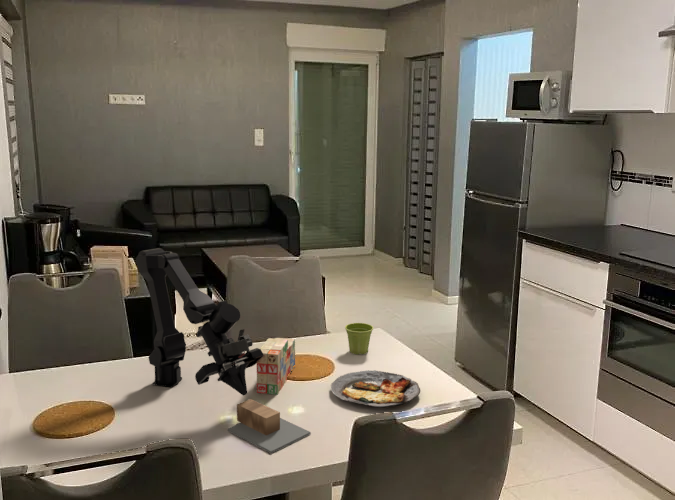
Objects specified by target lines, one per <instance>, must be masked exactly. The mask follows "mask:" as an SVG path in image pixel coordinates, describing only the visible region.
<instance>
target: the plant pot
mask: <svg viewBox="0 0 675 500" xmlns="http://www.w3.org/2000/svg"><path fill="white" fill-rule="evenodd" d="M344 329H345V331H346V332H345V333H346V334H347V341H348V347H349V349H348V350H349V352H350V354H353V355H357V356H358V355H365V354H367V353H368V352H369V346H370V340H371V336H372V335H371V334H372V333H373V330H374V325H372V324H369V323H363V322H353V323H348V324H346V325H345V327H344Z"/></svg>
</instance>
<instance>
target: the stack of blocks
mask: <svg viewBox="0 0 675 500" xmlns="http://www.w3.org/2000/svg"><path fill="white" fill-rule="evenodd" d="M295 343H296V339H295V338H285V337H275V338H271V337H269V338H267V339H266V341H265V342H264V343H263V345H262V346H261V347H260V348H259V349H261V351H262V352H263V354H264V356H263V357H262V358H261V359H260V360H259V361H258V362H257V363H256V393H257V394H267V395H268V394H269V395H276V396H277V395H279V393H280V391H282V389H283V387H284V386H285V384H286V383H287V380H288V379H287V376H288V374H289V373H290V372H291V370H292V369H293V366H294V365H295V366H296V348H295V347H296V346H295V345H296V344H295ZM293 370H294V369H293ZM291 373H292V372H291Z"/></svg>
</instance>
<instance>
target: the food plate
mask: <svg viewBox="0 0 675 500" xmlns="http://www.w3.org/2000/svg"><path fill="white" fill-rule="evenodd" d="M351 387H352V388H351ZM330 391H331V392H332V394H333V395H334V396H336V397H337V398H339V399H340V400H341V401H347V402H351V403H356V404H358V405H365V406H371V407H378V408H390V407H394V406H395V407H396V406H400V405H404V404H406V403H407V404H408V403H410V402H412V401H413V400H414V399H415V398H416V397H418V396H419V395H420V394H421V387H420V386H419V383H418V382H417V381H415V380H412V378H410V377H407V376H404V375H403V374H398V373H394V372H386V371H381V370H361V371H355V372H348V373H345V374H343V375H339V376H338V377H337V378H336V379H335V380H334V381H332V382H331V384H330Z"/></svg>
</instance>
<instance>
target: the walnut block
mask: <svg viewBox="0 0 675 500" xmlns="http://www.w3.org/2000/svg"><path fill="white" fill-rule="evenodd" d="M236 414H237V415H236V419H237V422H238V423H242V424H244V425H246V426H248V427H250V428H252V429H254V430H256V431H258V432H260V433H262V434H264V435H269V434H271V433H273V432H275V431H277V430H279V429H280V418H281V412H280V411H279V410H275V409H273V408H271V407H269V406H267V405H264V404H263V403H260V402H258V401H256V400H254V399H252V398H250V399H247V400H245V401H242V402H240V403H237V404H236Z"/></svg>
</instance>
